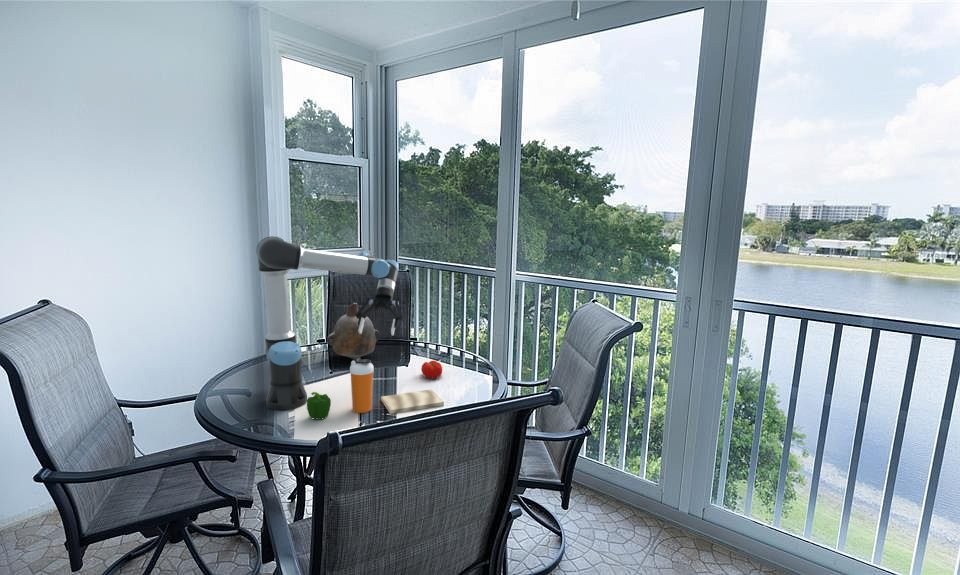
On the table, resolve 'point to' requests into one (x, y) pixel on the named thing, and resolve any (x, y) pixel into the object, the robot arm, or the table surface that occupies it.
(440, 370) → the tomato
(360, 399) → the shaker bottle
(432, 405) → the oak board
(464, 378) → the table surface
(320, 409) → the bell pepper
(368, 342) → the jug
